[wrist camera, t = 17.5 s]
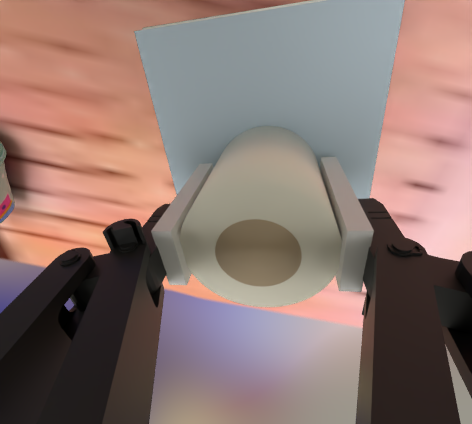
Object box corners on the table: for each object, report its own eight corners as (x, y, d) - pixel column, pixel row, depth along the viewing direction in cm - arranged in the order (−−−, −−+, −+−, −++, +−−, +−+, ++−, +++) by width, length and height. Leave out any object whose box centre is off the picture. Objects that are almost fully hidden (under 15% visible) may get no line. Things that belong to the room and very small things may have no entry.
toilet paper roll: (210, 130, 14) (161, 186, 8) (321, 121, 13) (354, 179, 7) (224, 218, 18) (195, 305, 12) (315, 217, 16) (334, 313, 11)
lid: (143, 32, 13) (134, 31, 12) (397, -8, 11) (407, -13, 10) (199, 259, 21) (195, 267, 20) (352, 262, 19) (355, 271, 18)
